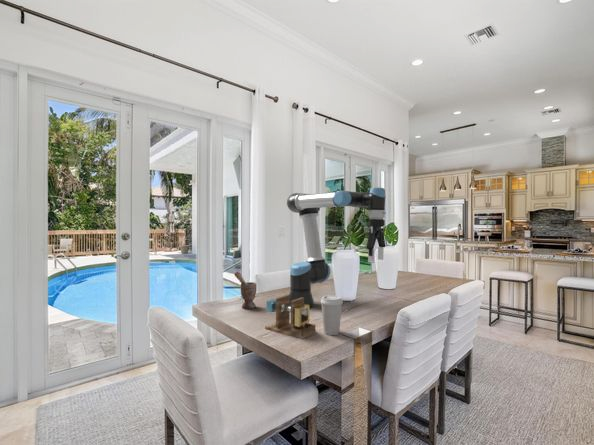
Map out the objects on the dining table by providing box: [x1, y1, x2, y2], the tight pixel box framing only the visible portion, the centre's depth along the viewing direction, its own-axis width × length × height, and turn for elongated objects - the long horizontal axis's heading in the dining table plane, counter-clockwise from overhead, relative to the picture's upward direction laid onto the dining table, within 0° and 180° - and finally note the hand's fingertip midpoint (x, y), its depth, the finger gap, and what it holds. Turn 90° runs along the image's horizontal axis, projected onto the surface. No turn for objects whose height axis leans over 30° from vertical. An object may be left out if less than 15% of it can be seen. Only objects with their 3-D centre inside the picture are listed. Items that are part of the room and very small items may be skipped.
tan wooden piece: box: [295, 304, 311, 327], centre depth 131 cm, size 2×7×7 cm, turn 144°
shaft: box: [266, 298, 308, 316], centre depth 136 cm, size 20×5×5 cm, turn 54°
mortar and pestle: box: [234, 271, 257, 310], centre depth 169 cm, size 12×9×20 cm
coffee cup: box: [320, 294, 344, 336], centre depth 132 cm, size 10×10×15 cm
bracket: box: [264, 294, 317, 340], centre depth 135 cm, size 20×10×14 cm, turn 54°
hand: (375, 261), depth 156 cm, fingers open, 13 cm apart
